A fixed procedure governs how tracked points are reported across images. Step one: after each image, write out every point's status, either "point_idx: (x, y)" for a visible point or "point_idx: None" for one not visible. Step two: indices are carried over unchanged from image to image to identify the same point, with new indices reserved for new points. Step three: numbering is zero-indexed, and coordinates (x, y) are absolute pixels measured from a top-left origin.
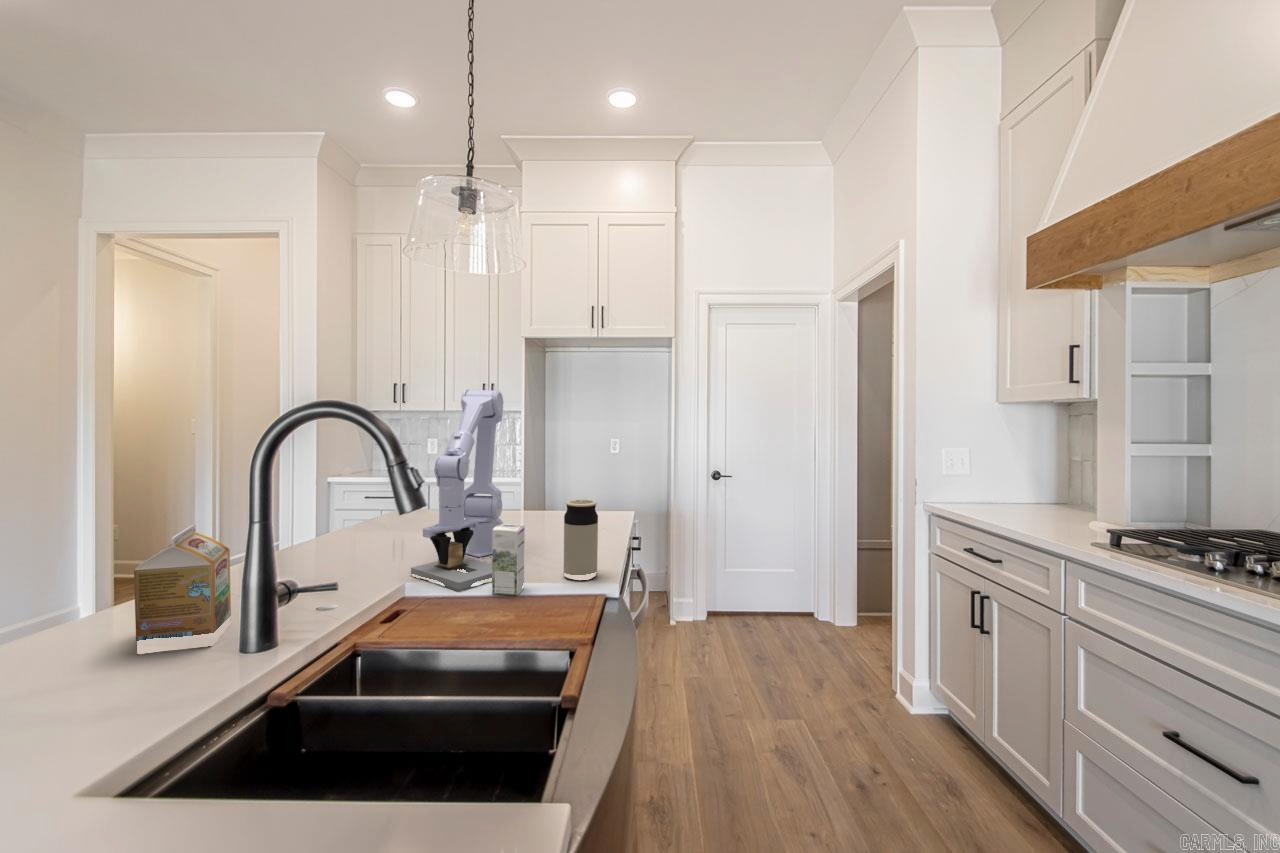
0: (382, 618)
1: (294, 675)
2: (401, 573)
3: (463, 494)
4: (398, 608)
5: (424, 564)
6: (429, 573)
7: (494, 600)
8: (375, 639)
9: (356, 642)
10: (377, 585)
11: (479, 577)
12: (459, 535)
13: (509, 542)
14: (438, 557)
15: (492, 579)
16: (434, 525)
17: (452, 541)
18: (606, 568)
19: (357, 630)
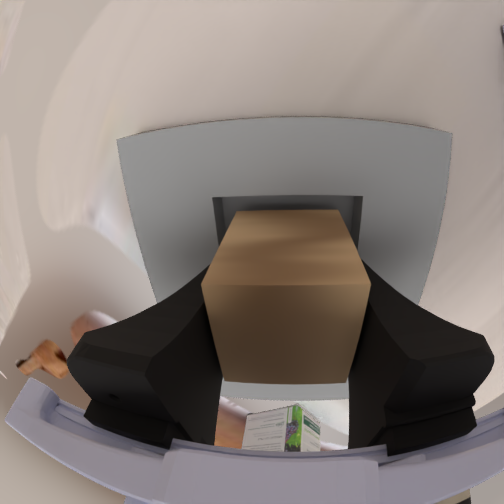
0: (55, 347)
1: (20, 364)
2: (128, 69)
3: None
4: (73, 340)
5: (191, 130)
6: (150, 281)
7: (231, 423)
8: (58, 376)
9: (43, 366)
10: (38, 169)
11: (266, 397)
12: (366, 407)
13: None
14: (206, 267)
15: (242, 443)
16: (73, 467)
17: (363, 296)
18: (473, 408)
19: (36, 348)
